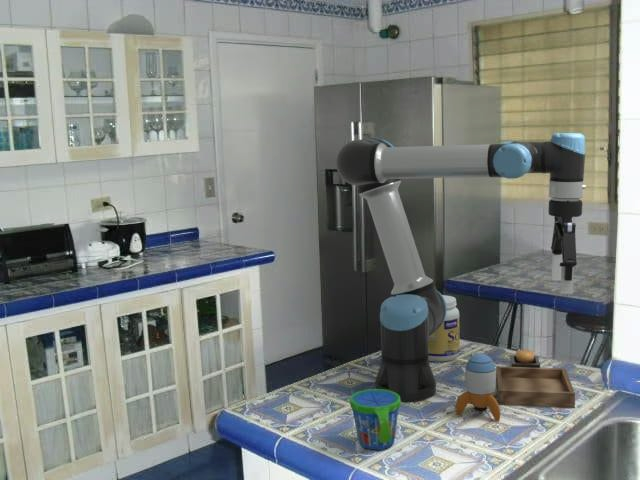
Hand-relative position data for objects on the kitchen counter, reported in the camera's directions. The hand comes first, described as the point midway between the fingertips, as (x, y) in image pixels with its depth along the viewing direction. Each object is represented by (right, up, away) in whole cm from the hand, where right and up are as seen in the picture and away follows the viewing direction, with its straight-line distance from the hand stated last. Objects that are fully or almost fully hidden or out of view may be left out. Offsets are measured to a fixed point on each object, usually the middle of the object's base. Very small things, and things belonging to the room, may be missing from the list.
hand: (561, 286), depth 169 cm
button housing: (-4, -24, +15) cm, 29 cm away
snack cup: (-46, -32, -21) cm, 60 cm away
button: (-5, -20, +15) cm, 25 cm away
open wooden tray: (-6, -26, +3) cm, 27 cm away
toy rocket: (-23, -29, -8) cm, 37 cm away
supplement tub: (-24, -22, +33) cm, 46 cm away
